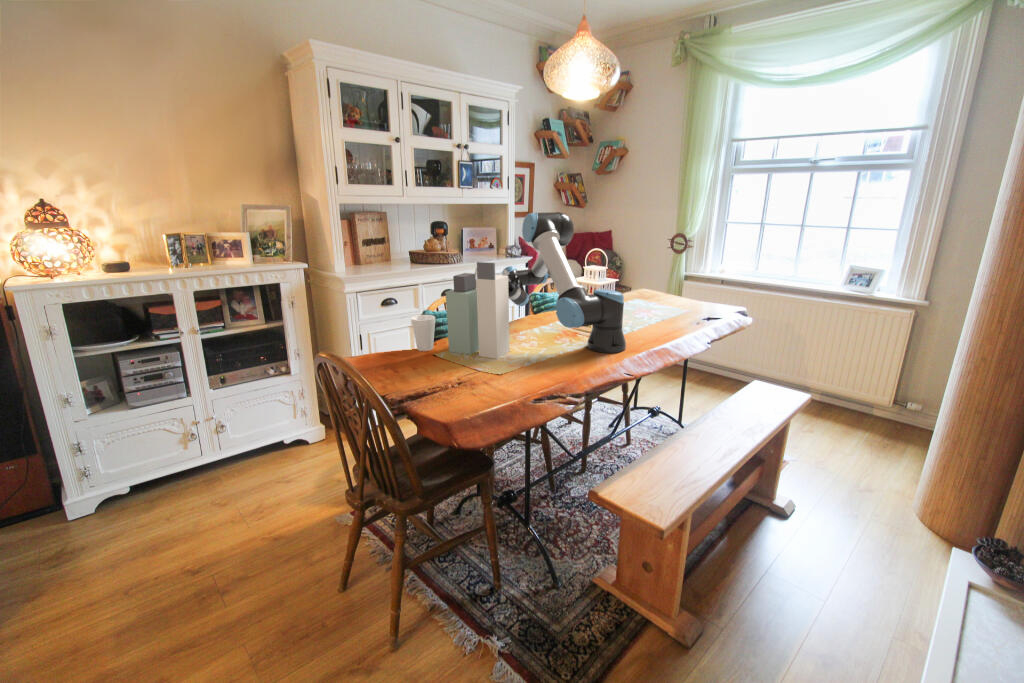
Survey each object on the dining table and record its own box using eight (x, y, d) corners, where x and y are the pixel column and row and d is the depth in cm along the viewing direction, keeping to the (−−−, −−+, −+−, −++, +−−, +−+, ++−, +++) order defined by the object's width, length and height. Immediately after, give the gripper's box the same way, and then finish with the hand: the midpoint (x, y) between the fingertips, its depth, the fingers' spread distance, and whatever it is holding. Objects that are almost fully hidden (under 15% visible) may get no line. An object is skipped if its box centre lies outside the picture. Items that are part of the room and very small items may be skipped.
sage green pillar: (483, 347, 192) (481, 289, 185) (470, 354, 183) (467, 294, 176) (462, 344, 196) (460, 287, 189) (449, 351, 188) (445, 292, 181)
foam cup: (412, 346, 195) (410, 315, 191) (434, 344, 198) (432, 314, 194) (414, 353, 186) (412, 321, 182) (438, 350, 189) (436, 319, 185)
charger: (488, 284, 195) (488, 270, 193) (465, 292, 179) (464, 276, 178) (478, 283, 197) (477, 269, 195) (454, 291, 181) (453, 276, 180)
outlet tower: (509, 351, 187) (507, 259, 176) (497, 359, 178) (494, 263, 168) (491, 348, 190) (489, 259, 180) (479, 356, 182) (475, 262, 171)
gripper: (488, 279, 224) (466, 262, 205) (536, 283, 213) (518, 264, 194) (484, 294, 222) (462, 278, 204) (533, 298, 211) (514, 282, 193)
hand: (489, 271), depth 199 cm, fingers open, 13 cm apart
